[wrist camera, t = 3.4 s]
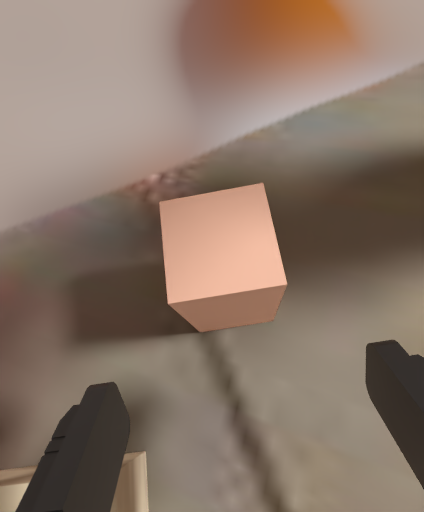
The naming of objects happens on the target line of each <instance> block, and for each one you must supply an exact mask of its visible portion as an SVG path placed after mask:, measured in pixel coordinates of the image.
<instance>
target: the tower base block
mask: <svg viewBox="0 0 424 512" xmlns="http://www.w3.org/2000/svg"><path fill="white" fill-rule="evenodd" d="M37 466H38V465H36V466H28V467H21V468H13V469H6V470H0V512H13V511H16V509H17V507H18V505H19V503H20V501H21V499H22V497H23V495H24V493H25V491H26V489H27V487H28V485H29V483H30V481H31V479H32V477H33V475H34V473H35V471H36V469H37ZM110 512H149V510H148V488H147V467H146V451H141V452H134V453H126V454H124V458H123V462H122V466H121V470H120V474H119V478H118V483H117V487H116V491H115V495H114V499H113V503H112V507H111V511H110Z"/></svg>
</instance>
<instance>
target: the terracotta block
mask: <svg viewBox="0 0 424 512" xmlns="http://www.w3.org/2000/svg"><path fill="white" fill-rule="evenodd" d="M159 205H160V217H161V228H162V240H163V252H164V264H165V276H166V287H167V299H168V304H169V305H170V306H171V307H172V308H173V309H174V310H175V311H177V312H178V313H179V314H180V315H181V316H182V317H183V318H185V319H186V320H187V321H188V322H189V323H190V324H191V325H193V326H194V327H195V328H196V329H197V330H198V331H199V332H206V331H213V330H219V329H225V328H232V327H238V326H244V325H251V324H257V323H263V322H270V321H273V320H274V317H275V315H276V312H277V310H278V307H279V304H280V302H281V299H282V297H283V294H284V292H285V289H286V286H287V281H286V277H285V273H284V268H283V264H282V260H281V256H280V251H279V247H278V243H277V239H276V235H275V230H274V226H273V222H272V218H271V213H270V209H269V205H268V201H267V197H266V192H265V188H264V184H263V183H259V184H253V185H248V186H243V187H237V188H232V189H226V190H221V191H215V192H210V193H205V194H199V195H194V196H188V197H183V198H177V199H172V200H167V201H161V202H159Z"/></svg>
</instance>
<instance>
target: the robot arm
mask: <svg viewBox="0 0 424 512" xmlns="http://www.w3.org/2000/svg"><path fill="white" fill-rule="evenodd" d="M366 386H367V390H368V393H369V396H370V398H371V401H372V402H373V404H374V406H375V408H376V409H377V411H378V413H379V414H380V416H381V418H382V419H383V421H384V423H385V424H386V426H387V428H388V430H389V431H390V433H391V435H392V436H393V438H394V440H395V441H396V443H397V445H398V446H399V448H400V450H401V451H402V453H403V455H404V457H405V458H406V460H407V462H408V463H409V465H410V467H411V468H412V470H413V472H414V473H415V475H416V477H417V479H418V480H419V482H420V484H421V485H422V487H423V489H424V358H423V357H422V356H420V355H411V356H409V355H408V353H407V352H406V351H405V350H404V349H403V348H402V347H401V345H400V344H399V343H398V342H397V341H395V340H388V341H381V342H375V343H369V344H367V346H366ZM129 433H130V420H129V415H128V412H127V410H126V407H125V405H124V402H123V400H122V397H121V395H120V392H119V390H118V387H117V385H116V384H115V383H114V382H109V383H102V384H96V385H90V386H89V387H88V388H87V390H86V392H85V394H84V396H83V398H82V401H81V403H80V404H79V405H73V406H72V408H71V409H70V410H69V411H68V412H67V413H66V414H65V416H64V417H63V418H62V419H61V420H60V422H59V424H58V426H57V428H56V430H55V432H54V434H53V436H52V441H50V442H49V444H48V446H47V448H46V450H45V452H44V453H45V455H44V456H42V458H41V460H40V462H39V464H38V466H37V469H36V471H35V473H34V475H33V477H32V479H31V481H30V483H29V485H28V487H27V489H26V491H25V493H24V495H23V497H22V499H21V501H20V503H19V505H18V507H17V509H16V511H15V512H110V511H111V507H112V503H113V499H114V495H115V491H116V487H117V483H118V478H119V474H120V470H121V466H122V462H123V458H124V454H125V450H126V446H127V442H128V438H129Z"/></svg>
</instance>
